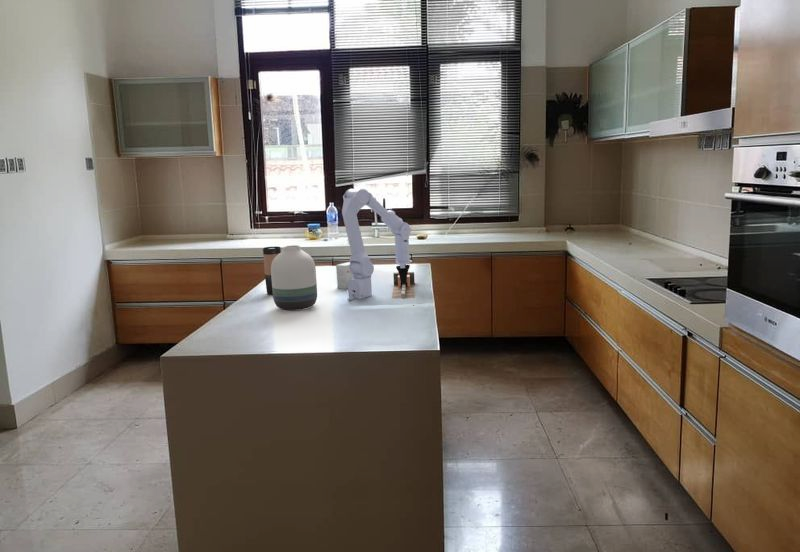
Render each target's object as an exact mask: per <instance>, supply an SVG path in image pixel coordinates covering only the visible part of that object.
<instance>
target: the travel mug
mask: <svg viewBox="0 0 800 552" xmlns="http://www.w3.org/2000/svg"><path fill="white" fill-rule="evenodd" d="M281 249H282V248H281V246H266V247H264V248H263V249H262V253H263V254H262V255H263V269H264V278H265V279H264V280H265V288H266V294H267V295H269V296H273V290H272V278H271V265H272V261H273V260H274V258H275V257H276V256H277V255H278V254H280V253H281V252H282V251H281Z"/></svg>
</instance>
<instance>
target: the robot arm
mask: <svg viewBox="0 0 800 552" xmlns="http://www.w3.org/2000/svg"><path fill="white" fill-rule="evenodd" d="M342 198H343V204H342V208H341V215H342V218H343V224H344V227H345V231H346V235H347V240H348V245H349V249H350V252H351V256H350V257H349V262H350V266H349V268H350V271H351V273H353V279H352V280H350V281H349V283H348V289H347V290H348V297H347V300H348V301H353V300H354V299H358V300H359V299H360V300H361V299H364V298H368V297H371V296H372V295H373V289H372V287H373V286H372V275H373V273H374V270H375V267H374V264H373V262H372V261H371V258H370V256H369V255H368V254H367V252H366V249H365V245H364V241H363V237H362V232H361V227H360V224H359V221H358V220H359V219H358V215H357V214H358V213H359V212H360V211H361V209H363V208H364V207H365V206H367V207H368V208H370V209H371V210H372V211H374V212H375V213H376V214H377V215H379V216H380V220H381V222H382V223H384V224H385V225H386V226H387V227H388V228H389V229H390V230H391V233H392V235H394V247H395V248H394V249H395V264H397V265H396V266H395V267H396V268H395V269H396V270H397V273H398V272H399V276H400V280H401V283H406V281H407V273H408V272H409V269H410V268H411V266H410V263H413V260H411V259H410V243H409V242H410V241H409V239H410V235H411V232H412V228H411V226H410V224H409V223H408V222H406V221H405V222H404V221H403V219H402V217H399V216H398V215H396V212H395V211H394V210H391V209H389V210H387V209H386V208H385V207H384V206H383V205H382V204H381V203H380V202H379V201H378V200H377V199H376V198H375V197H374V195H373V194H372V193H371V192H369V190H367V189H366V188H349V189H347V190H346V191H345V192H344V194H343V196H342Z"/></svg>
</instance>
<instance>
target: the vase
mask: <svg viewBox="0 0 800 552" xmlns="http://www.w3.org/2000/svg"><path fill="white" fill-rule="evenodd" d="M271 278H272V290H273V295H272V298H273V302H274V304H275V305H276V307H277V308H278V309H280V310H283V311H300V310H306V309H309V308H311V307H314V305H315V304H316V302H317V299H318V285H317V283H318V282H317V268H316V264H315V260H314V259H313V257H312V256H311V255H310V254H308V253H307V252H305V251H304V250H303V249H302V248H301V245H295V244H293V245H285V246H283V247H282V251H281V253H280V254H278V255H277V256H276V257H275V258H274V260H273V261H272V265H271Z"/></svg>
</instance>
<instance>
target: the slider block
mask: <svg viewBox="0 0 800 552" xmlns="http://www.w3.org/2000/svg"><path fill="white" fill-rule="evenodd" d="M406 282H407V283H408V287H410V275H407V281H406ZM398 288H401V280H400V276H399V275H398Z"/></svg>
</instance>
